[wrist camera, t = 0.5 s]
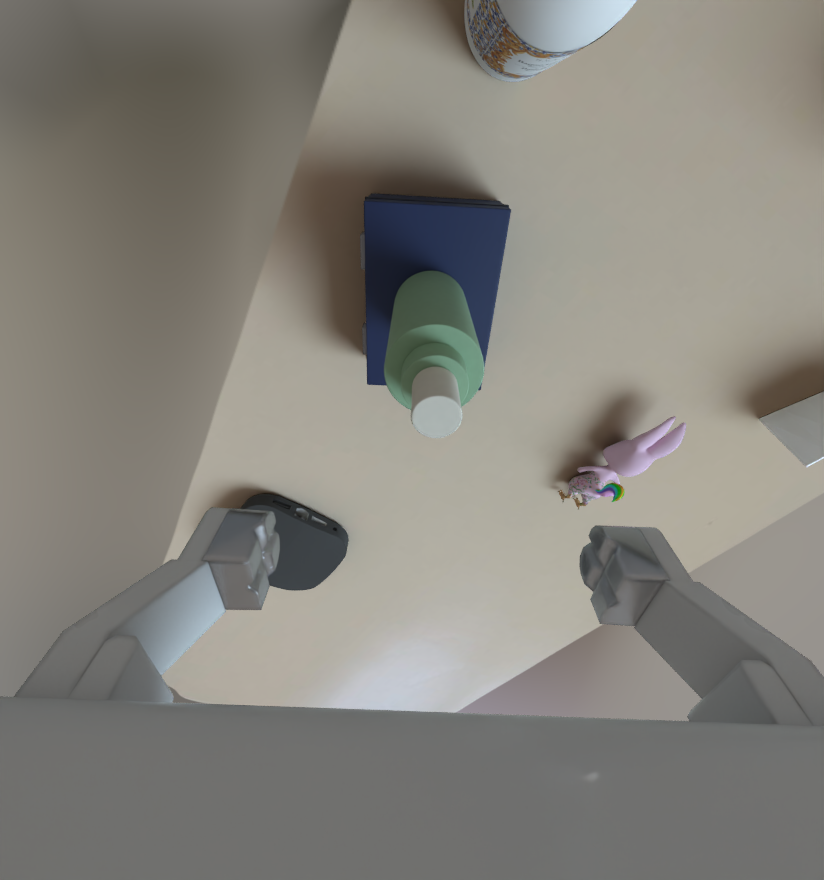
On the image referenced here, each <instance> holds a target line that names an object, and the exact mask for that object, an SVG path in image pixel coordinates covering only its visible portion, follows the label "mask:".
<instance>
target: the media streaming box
mask: <svg viewBox="0 0 824 880" xmlns="http://www.w3.org/2000/svg"><path fill="white" fill-rule="evenodd" d="M241 509H248V510H262V511H272V512H274V515H275V519H276V523H275V526H274V530H275V531H276V532H277V533H278V534H279V539H280V552H279V558H278V563H277V566H276V569H275V571H274V572H273V573H271V574H270V575H269V576H268V581H269V585H270V586H274V587H277V588H281V589H286V590H307V589H311V588H314V587H316V586H317V585H319V584H320V583H321V582H323V581H324V580H325V579H326V578H327V577H328V576H329V575H330V574H331V573H332V572H333V571H334V570H335V569H336V568H337V566H338V565H339V564H340V563H341V561H342V560H343V559H344V557H345V555H346V551H347V545H348V535H347V533H346V531H345V530H344V529H343V528H342V527H341V526H340V525H339V524H337V523H335V522H333V521H331V520H329V519H327V518H325V517H323V516H321V515H319V514H317V513H315V512H313V511H311V510H309V509H307V508H305V507H302V506H300V505H298V504H296V503H293V502H291V501H289V500H287V499H284V498H282V497H280V496H276V495H270V494H261V495H256V496H253V497H251V498H249V499H248V500H247V501H246V502H245V504H244V505H243V506H242V507H241Z"/></svg>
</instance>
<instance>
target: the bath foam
mask: <svg viewBox="0 0 824 880" xmlns="http://www.w3.org/2000/svg"><path fill="white" fill-rule="evenodd" d="M636 1H637V0H465V8H464V19H465V29H466V35H467V39H468V43H469V46H470V48H471V51H472V53H473V55H474V57H475V59H476V60H477V62H478V63H479V65H480V66H481V67H482V68H483V69H484V70H485V71H486V72H487V73H488V74H490V75H491V76H493V77H495V78H497V79H499V80H503V81H508V82H517V81H523V80H526V79H529V78H531V77H533V76H535V75H537V74H539V73H541V72H543V71H545V70H546V69H548V68H550V67H552V66H553V65H555V64H557V63H558V62H560V61H562V60H564V59H565V58H567V57H569V56H570V55H572V54H574V53H576V52H577V51H579V50H581V49H583V48H584V47H586V46H588V45H589V44H591V43H593V42H595V41H596V40H598V39H599V38H601V37H602V36H603V35H605V34H606V33H607V32H608V31H609V30H611V29H612V28H613V27H614V26H615V25H616V24H617V23H618V22H619V21H620V20H621V18H622V17H623V16H624V15H625V14H626V13H627V12H628V11H629V10H630V8H631V7H632V6H633V5H634V4H635V2H636Z"/></svg>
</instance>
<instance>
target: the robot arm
mask: <svg viewBox="0 0 824 880" xmlns="http://www.w3.org/2000/svg"><path fill="white" fill-rule="evenodd" d="M275 523H276V519H275V515H274V512H272V511H262V510H248V509H234V508H232V509H228V508H214V507H212V508H210V509H209V510H208V511H207V512H206V513H205V515H204V516H203V518H202V520H201V521H200V523H199V525H198V526H197V528H196V530H195V531H194V533H193V535H192V536H191V538H190V540H189V541H188V543H187V545H186V546H185V548H184V550H183V551H182V553H181V555H180V556H179V558H178V560H170V561H168V562H167V563H165V564H164V565H162V566H161V567H159V568H158V569H156V570H155V571H153V572H152V573H150V574H149V575H147V576H145V577H144V578H143V579H141V580H139V581H138V582H137V583H135V584H133V585H132V586H130V587H129V588H127V589H126V590H125V591H123V592H121V593H120V594H118V595H117V596H115V597H114V598H112V599H111V600H109V601H108V602H106V603H105V604H103V605H102V606H100V607H99V608H97V609H96V610H94V611H93V612H91V613H90V614H88V615H86V616H85V617H83V618H82V619H81V620H79V621H78V622H76V623H74V624H73V625H71V626H70V627H68V628H67V629H65V630H64V631H63V632H62V633H61V634H60V636H59V637H58V639H57V640H56V641H55V642H54V644H53V645H52V647H51V648H50V649H49V650H48V652H47V653H46V655H45V656H44V657H43V658H42V660H41V661H40V663H39V664H38V665H37V667H36V668H35V669H34V670H33V672H32V673H31V674H30V676H29V677H28V678H27V680H26V681H25V683H24V684H23V685H22V686H21V688H20V689H19V690H18V692H17V693H16V694H15V696H14V697H3V696H0V880H824V677H823V676H822V674H821V673H820V672H819V670H818V669H817V668H816V667H815V665H814V664H813V663H812V662H811V661H810V660H809V659H808V658H806V657H805V656H803V655H802V654H800V653H799V652H798V651H796V650H795V649H793V648H792V647H791V646H789V645H788V644H786V643H785V642H784V641H782V640H781V639H779V638H778V637H776V636H775V635H773V634H772V633H771V632H769V631H768V630H767V629H765V628H764V627H762V626H761V625H759V624H758V623H757V622H755V621H754V620H752V619H751V618H749V617H748V616H747V615H745V614H744V613H742V612H741V611H740V610H738V609H737V608H735V607H734V606H733V605H731V604H730V603H728V602H727V601H726V600H724V599H723V598H721V597H720V596H718V595H717V594H716V593H714V592H713V591H711V590H710V589H709V588H707V587H706V586H704V585H703V584H701V583H700V582H693V580H692V579H691V577H690V576H689V574H688V573H687V571H686V570H685V568H684V567H683V565H682V563H681V562H680V560H679V559H678V557H677V556H676V554H675V553H674V551H673V550H672V548H671V547H670V545H669V544H668V542H667V541H666V539H665V537H664V536H663V534H662V533H661V532H660V531H659V530H658V529H657V528H651V527H625V526H595V527H593V528H592V529H591V531H590V534H589V538H590V540H591V543H589V544H588V545H586V546H585V547H583V550H582V552H581V555H580V572H581V576H582V579H583V581H584V584H585V585H586V586H587V587H589V588H590V589H591V590H592V591H593V594H592V597H591V599H590V600H591V602H592V605H593V607H594V610H595V612H596V615H597V617H598V620H599V622H600V624H611V625H625V626H635V627H634V628H635V629H636V630H637V631H638V632H639V633H640V635H642V637H643V638H644V639H645V640H646V641H647V642H648V643H649V644H650V645H651V646H652V647H653V648H654V649H655V650H656V651H657V652H658V653H659V654H660V656H661V657H662V658H663V659H664V660H665V661H666V662H667V663H668V664H669V665H670V666H671V667H672V668H673V669H674V670H675V671H676V672H677V673H678V674H679V675H680V676H681V677H682V679H683V680H684V681H685V682H686V683H687V684H688V685H689V686H690V687H691V688H692V689H693V690H694V691H695V692H696V693H697V694H698V695H699V696H700V697H701V698H702V700H701V701H700V702H699V703H698V704H697V705H696V706H695V707H694V708H693V709H692V710H691V711H690V712H689V714H688V716H687V717H688V719H689V721H665V720H637V719H610V718H583V717H557V716H556V717H555V716H529V715H502V714H500V715H499V714H475V713H448V712H420V711H392V710H365V709H337V708H309V707H281V706H254V705H226V704H197V703H172V702H173V699H174V697H173V694H172V692H171V691H170V689H169V687H168V686H167V684H166V683H165V681H164V679H163V678H162V676H161V675H162V674H163V673H164V672H165V671H166V670H167V669H168V668H169V667H170V666H171V665H172V664H173V663H174V662H175V661H176V660H177V659H178V658H179V657H180V656H182V655H183V654H184V653H185V652H186V651H187V650H188V649H189V648H190V647H191V646H192V645H193V644H194V643H195V642H196V641H197V640H198V639H199V638H200V637H201V636H202V635H203V634H204V633H205V632H206V631H207V630H208V629H209V628H210V627H211V626H212V625H213V624H214V623H215V622H216V621H217V620H218V619H219V618H220V617H221V616H222V615H223V614H224V613H225V612H226V610H261V609H262V606H263V603H264V601H265V598H266V595H267V592H268V589H269V581H268V576H269V575H270V574H271V573H273V572H274V571H275V569H276V566H277V563H278V558H279V552H280V539H279V534H278V533H277V532H276V531H275V530H274V526H275Z"/></svg>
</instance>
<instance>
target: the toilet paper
mask: <svg viewBox="0 0 824 880" xmlns="http://www.w3.org/2000/svg"><path fill="white" fill-rule="evenodd" d="M759 420H760V421H761V422H762V423H763V424H764V425H765V426H766V427H767V428H768V429H769V430H770V431H771V432H772V433H773V434H774V435H775V436H776V437H777V438H778V439H779V440H780V441H781V442H782V443H783V444H784V445H785V446H786V447H787V448H788V449H789V450H790V451H791V452H792V453H793V454H794V455H795V456H796V457H797V458H798V459H799V460H800V461H801V462H802V463H803V464H804V465H805V466H806V467H808V466H810V465H812V464H814V463H816V462H817V461H819V460H821V459H823V458H824V391H823V392H821V393H819V394H816V395H814V396H812V397H809V398H807V399H804V400H802V401H800V402H797V403H795V404H793V405H790V406H788V407H785V408H783V409H781V410H778V411H776V412H774V413H771V414H769V415H767V416H764V417H762V418H759Z"/></svg>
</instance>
